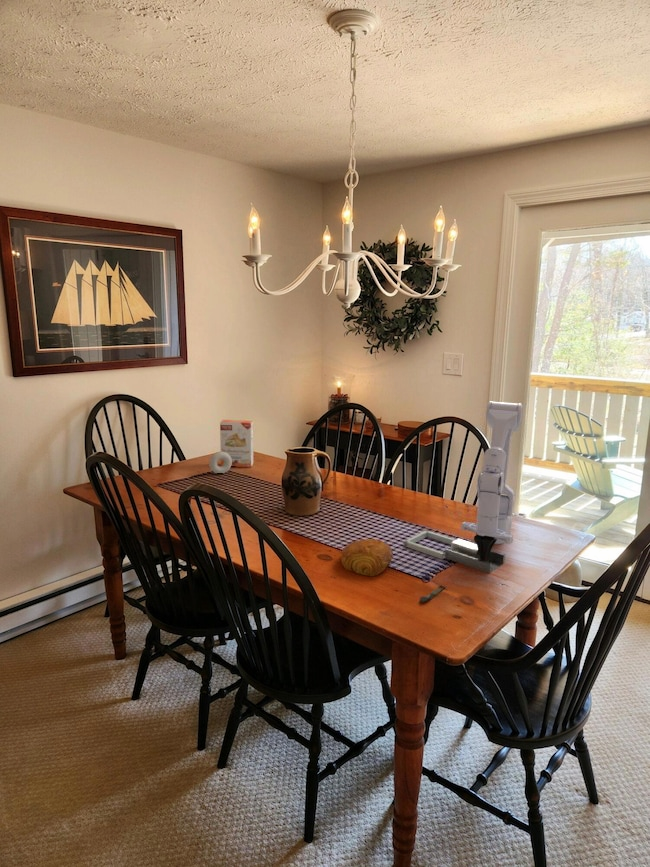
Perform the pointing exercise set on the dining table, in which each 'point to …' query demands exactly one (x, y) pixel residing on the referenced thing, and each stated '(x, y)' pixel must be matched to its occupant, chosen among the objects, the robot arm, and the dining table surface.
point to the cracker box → (237, 441)
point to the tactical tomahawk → (432, 594)
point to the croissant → (366, 556)
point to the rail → (477, 560)
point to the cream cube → (471, 550)
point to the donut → (218, 456)
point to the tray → (412, 544)
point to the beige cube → (459, 545)
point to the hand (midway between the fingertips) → (484, 559)
